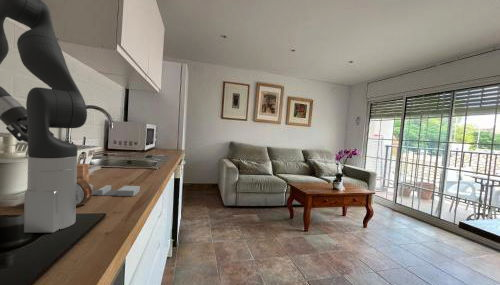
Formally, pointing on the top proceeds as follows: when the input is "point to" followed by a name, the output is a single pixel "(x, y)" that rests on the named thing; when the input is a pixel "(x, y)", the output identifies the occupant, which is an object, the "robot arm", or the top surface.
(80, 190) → the tin
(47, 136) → the robot arm
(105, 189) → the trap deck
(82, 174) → the block
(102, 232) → the top surface
